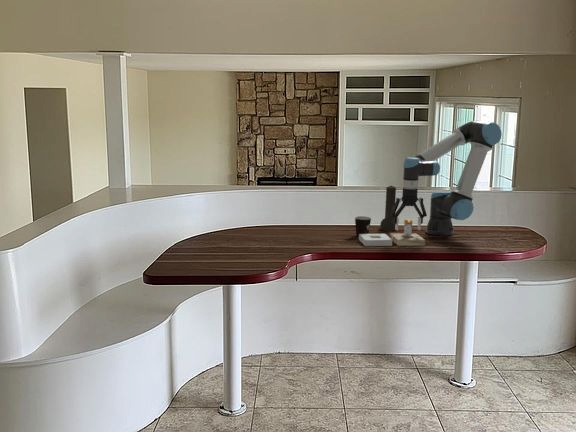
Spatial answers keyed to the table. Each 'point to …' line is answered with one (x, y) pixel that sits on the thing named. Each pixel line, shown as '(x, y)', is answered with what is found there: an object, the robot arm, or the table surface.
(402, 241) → the block
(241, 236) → the table surface
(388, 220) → the flashlight
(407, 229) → the pin
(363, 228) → the coffee mug
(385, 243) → the mount block
